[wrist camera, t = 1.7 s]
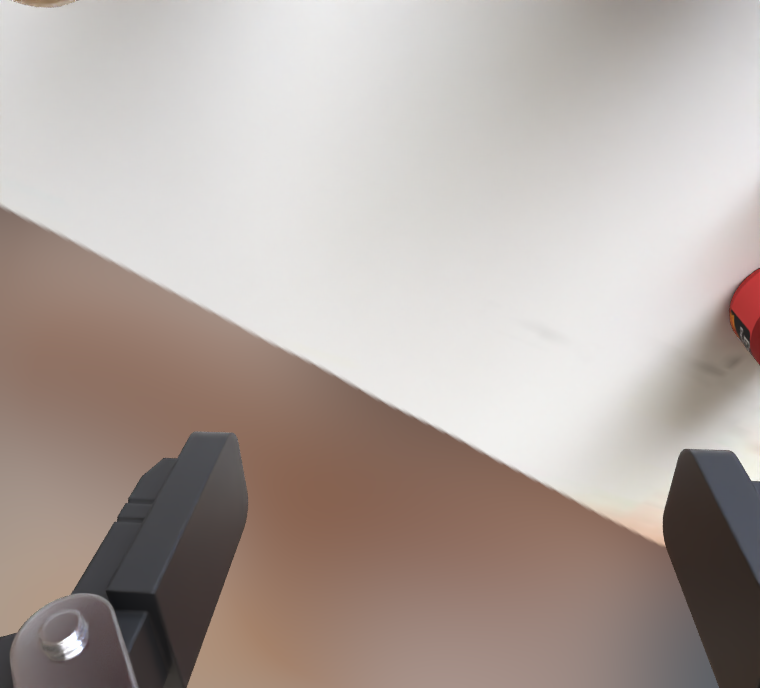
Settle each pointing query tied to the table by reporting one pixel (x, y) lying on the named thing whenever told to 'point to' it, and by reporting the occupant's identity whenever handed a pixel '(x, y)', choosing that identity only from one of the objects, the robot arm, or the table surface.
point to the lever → (45, 3)
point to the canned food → (747, 313)
